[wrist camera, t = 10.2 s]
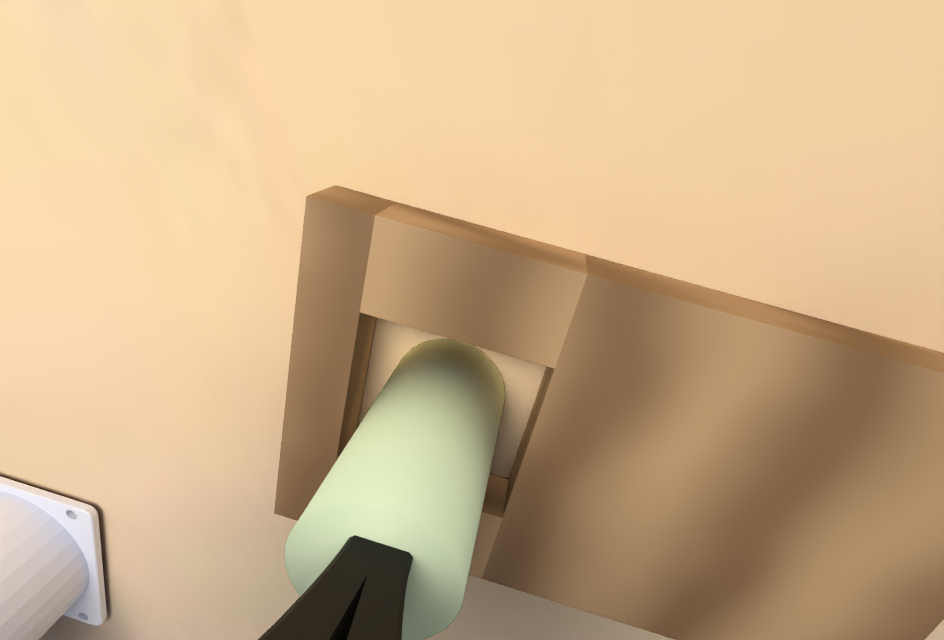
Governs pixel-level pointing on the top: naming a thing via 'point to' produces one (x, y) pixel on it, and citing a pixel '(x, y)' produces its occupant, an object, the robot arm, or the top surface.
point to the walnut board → (645, 431)
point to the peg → (412, 480)
